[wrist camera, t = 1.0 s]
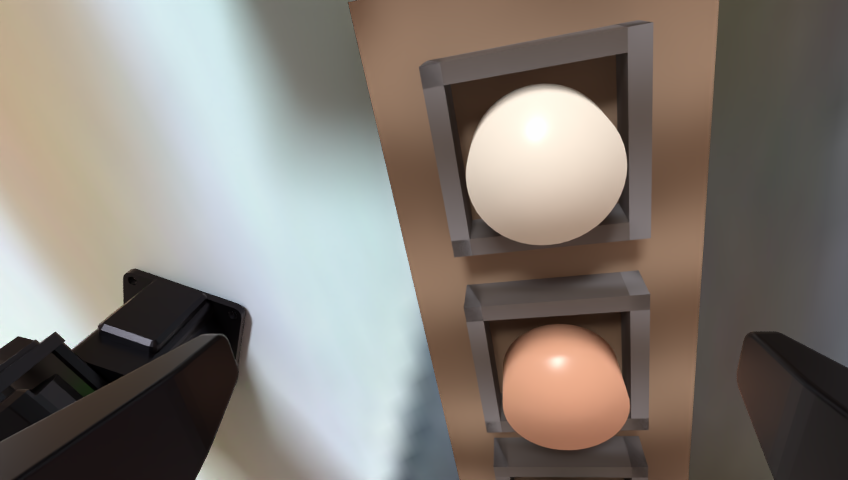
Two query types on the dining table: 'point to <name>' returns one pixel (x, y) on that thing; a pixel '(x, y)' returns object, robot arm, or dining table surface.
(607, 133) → the button cream
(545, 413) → the button terracotta
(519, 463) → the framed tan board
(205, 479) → the dining table surface
